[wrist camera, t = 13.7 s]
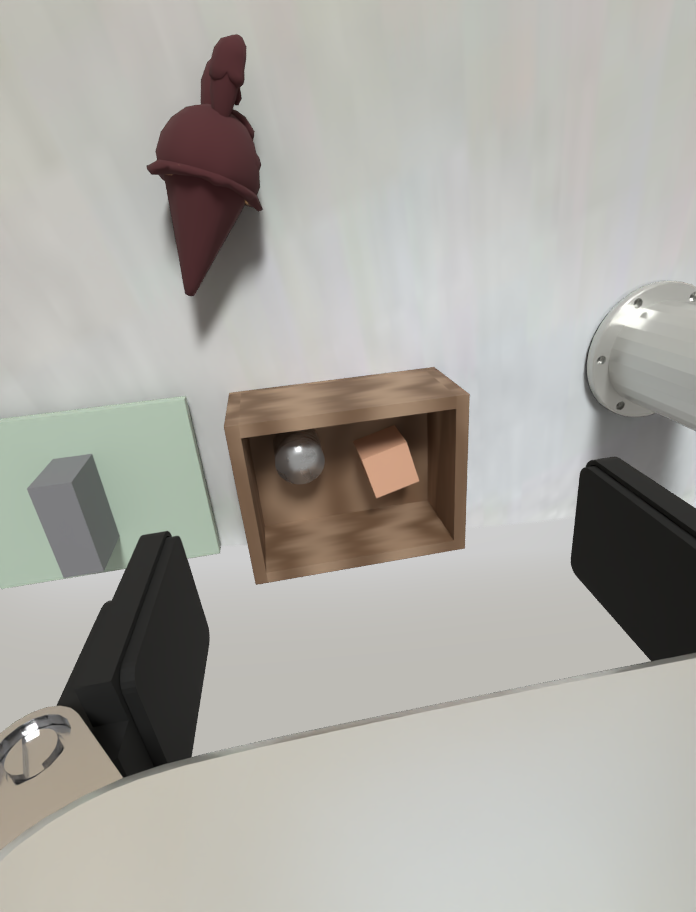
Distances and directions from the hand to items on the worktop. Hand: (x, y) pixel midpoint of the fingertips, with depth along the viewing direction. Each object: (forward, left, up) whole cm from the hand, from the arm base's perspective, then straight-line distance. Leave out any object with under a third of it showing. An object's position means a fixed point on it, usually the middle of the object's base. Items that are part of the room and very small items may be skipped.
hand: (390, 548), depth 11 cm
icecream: (+4, -10, -32) cm, 34 cm away
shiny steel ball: (+1, +10, -31) cm, 32 cm away
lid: (+19, +12, -32) cm, 39 cm away
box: (-3, +12, -32) cm, 34 cm away
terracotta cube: (-6, +12, -31) cm, 34 cm away
